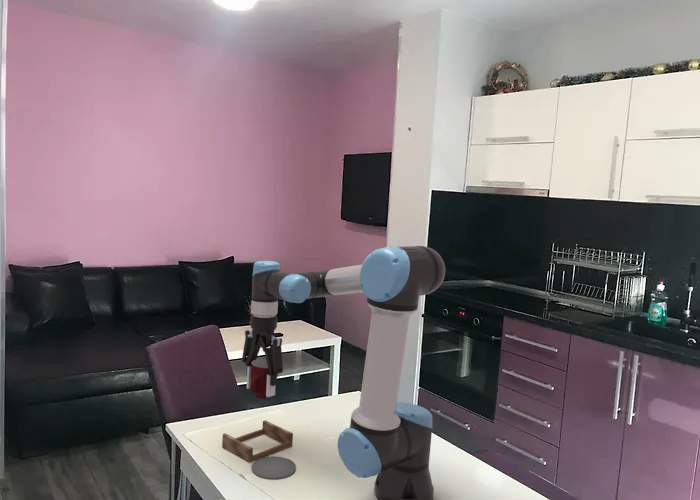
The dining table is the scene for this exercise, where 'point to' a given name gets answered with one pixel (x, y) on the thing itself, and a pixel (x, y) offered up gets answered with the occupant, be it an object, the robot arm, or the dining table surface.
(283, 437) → the wooden tray frame
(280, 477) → the coaster
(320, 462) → the dining table surface
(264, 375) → the mug
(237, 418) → the dining table surface
